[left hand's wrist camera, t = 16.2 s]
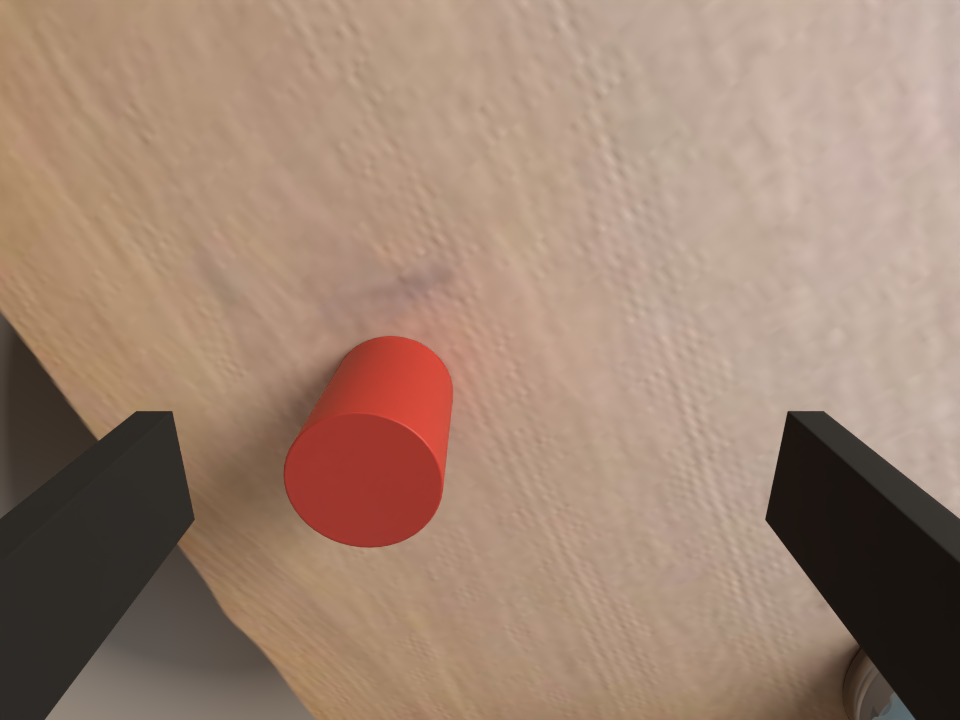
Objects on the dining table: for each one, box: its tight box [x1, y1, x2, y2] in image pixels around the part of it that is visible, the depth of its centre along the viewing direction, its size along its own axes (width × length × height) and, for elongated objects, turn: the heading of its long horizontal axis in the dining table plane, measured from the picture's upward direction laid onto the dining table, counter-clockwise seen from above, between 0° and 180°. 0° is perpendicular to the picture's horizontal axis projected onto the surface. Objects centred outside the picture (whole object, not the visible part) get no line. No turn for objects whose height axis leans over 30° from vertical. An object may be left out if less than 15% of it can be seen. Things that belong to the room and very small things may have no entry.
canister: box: [284, 336, 453, 547], centre depth 28 cm, size 7×7×9 cm
